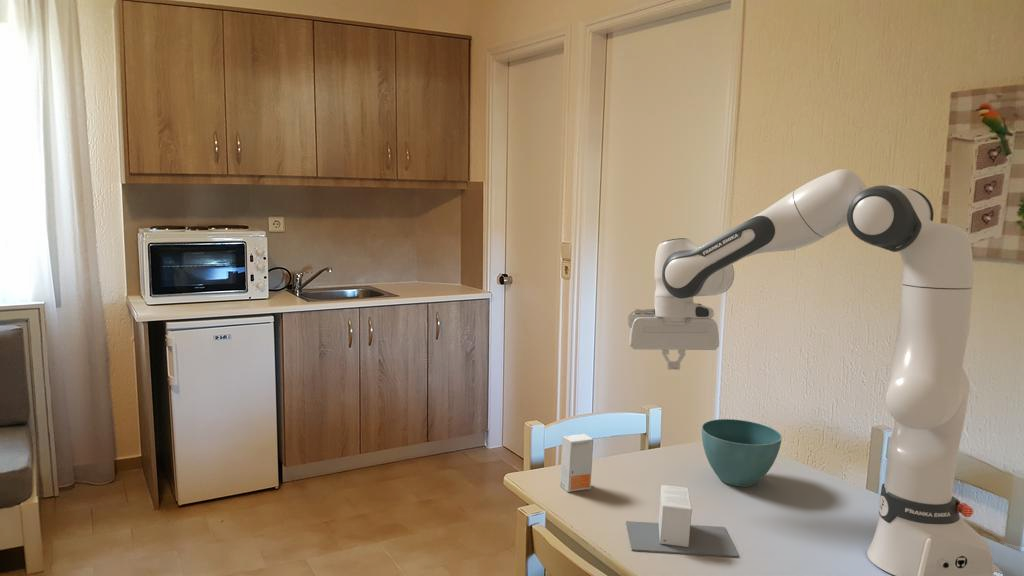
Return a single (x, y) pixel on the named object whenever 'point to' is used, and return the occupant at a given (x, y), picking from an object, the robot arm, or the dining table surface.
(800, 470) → the dining table surface
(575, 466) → the skincare box
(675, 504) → the small box
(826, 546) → the dining table surface
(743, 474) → the teal bowl
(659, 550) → the mat
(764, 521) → the dining table surface
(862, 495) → the dining table surface
